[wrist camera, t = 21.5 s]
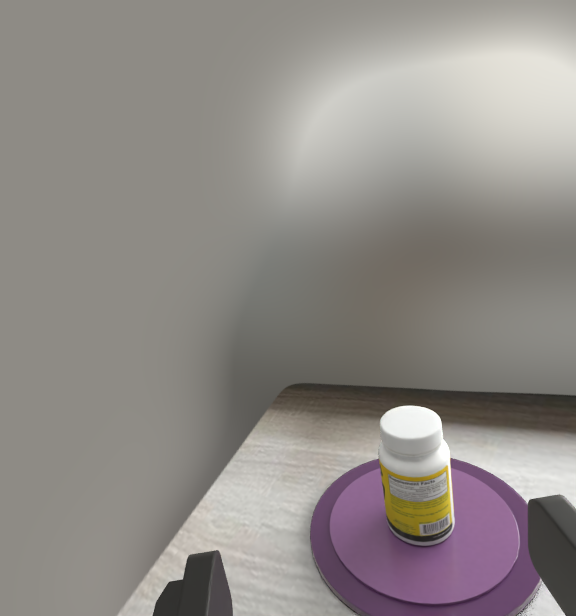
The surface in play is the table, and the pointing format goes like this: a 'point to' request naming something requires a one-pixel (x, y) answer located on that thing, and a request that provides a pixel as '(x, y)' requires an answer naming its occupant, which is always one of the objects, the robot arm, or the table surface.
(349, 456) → the table surface
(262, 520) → the table surface
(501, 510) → the plum dish
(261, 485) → the table surface
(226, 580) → the robot arm
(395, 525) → the supplement bottle
